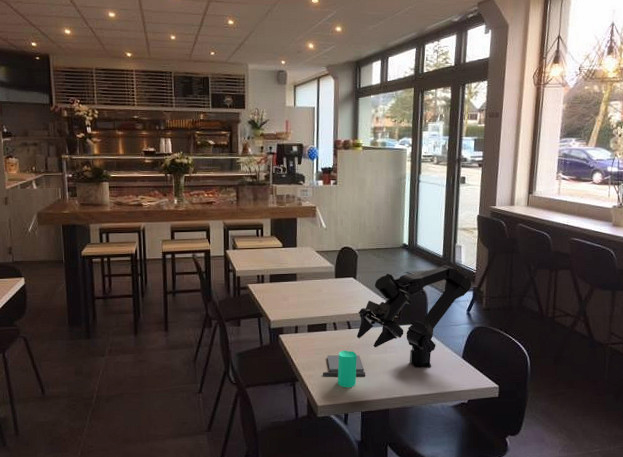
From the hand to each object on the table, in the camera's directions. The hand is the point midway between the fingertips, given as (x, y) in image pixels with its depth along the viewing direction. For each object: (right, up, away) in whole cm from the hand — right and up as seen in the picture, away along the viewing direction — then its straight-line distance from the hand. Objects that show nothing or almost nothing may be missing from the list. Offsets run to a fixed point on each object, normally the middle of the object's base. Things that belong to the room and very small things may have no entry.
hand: (365, 342), depth 186 cm
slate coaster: (-6, -11, +13) cm, 18 cm away
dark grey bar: (-7, -13, +4) cm, 15 cm away
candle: (-7, -14, -2) cm, 15 cm away
